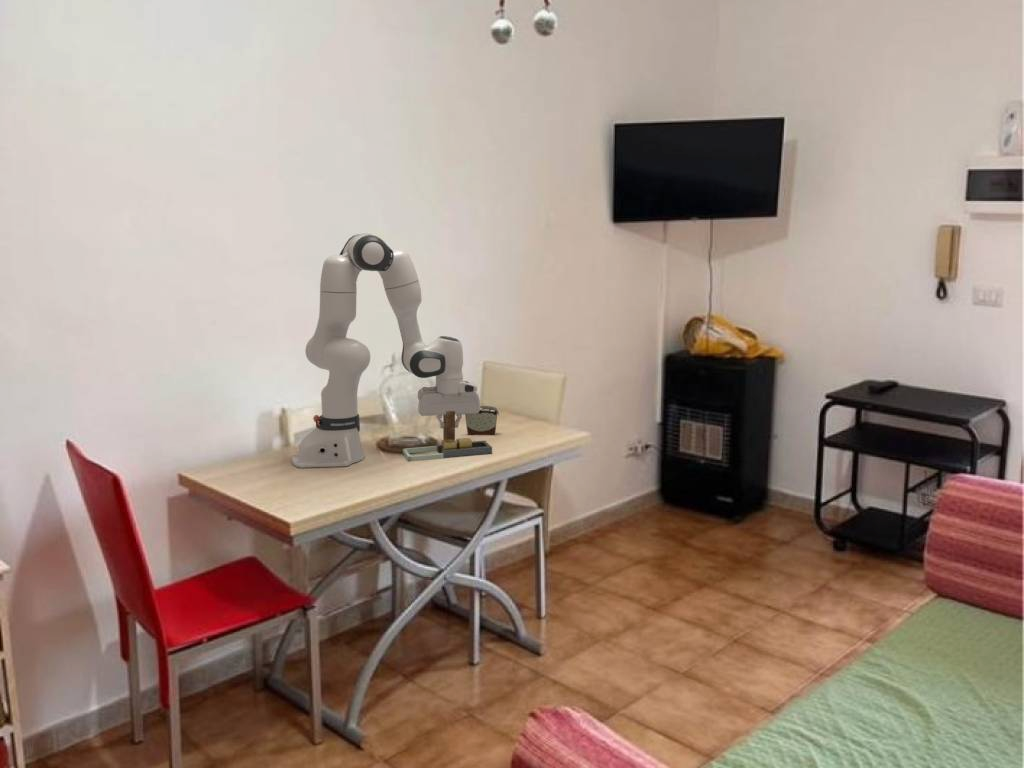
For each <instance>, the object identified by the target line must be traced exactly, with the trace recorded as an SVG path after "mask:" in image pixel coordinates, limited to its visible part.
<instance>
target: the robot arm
mask: <svg viewBox="0 0 1024 768" xmlns="http://www.w3.org/2000/svg"><path fill="white" fill-rule="evenodd" d="M362 271H367V272H368V271H370V272H376V273H378V274H379V275H380V278H381V280H382V284H383V288H384V291H385V295H386V298H387V300H388V303H389V306H390V307H391V309H392V311H393V313H394V315H395V318H396V321H397V325H398V328H399V332H400V336H401V340H402V341H401V342H402V351H401V359H400V360H401V364H402V366H403V368H404V369H405V370H406V371H407V372H409V373H411V374H412V375H414V376H415V377H417V378H421V379H427V378H432V377H435V386H422V388H420V389H419V390H418V391H417V399H418V405H417V406H418V407H417V413H418V414H419V415H420V416H422V417H427V416H428V417H429V416H436V419H437V421H438V422H439V428H440V429H443V428H445V422H443V420H442V418H443V415H446V411H455V417H457V418H455V429H456V428H457V429H458V428H459V423H460V421H461V419H462V417H463V414H464V415H465V414H475V413H478V412H479V411H480V406H481V400H480V396H479V393H477V390H478V386H476V384H474V383H473V382H471V381H467V380H464V374H463V371H462V370H463V365H464V351H463V345H462V342H461V341H460V340H459V339H457V338H454V337H452V336H445V335H442V336H438V338H436V339H435V340H433V341H432V342H430V343H428V344H425V342H424V341H423V339H422V335H421V334H422V333H421V332H420V327H419V326H420V325H419V322H418V318H417V317H418V315H417V313H418V309H419V307H420V305H421V303H422V300H423V299H422V288H421V284H420V281H419V277H418V274H417V271H416V267H415V265H414V262H413V261H412V258H411V256H410V254H409V253H408V252H407V251H406V250H405V249H401V248H391V247H389V245H387V243H386V242H385V241H384V240H383V239H382V238H380V237H379V236H376V235H373V234H370V233H358V234H354V235H352V236H351V237H350V238H348V240H347V242H345V244H344V246H343V247H342V250H341V251H340V253H339V254H335V255H330V256H328V257H326V259H325V260H324V262H323V264H322V269H321V275H320V281H319V282H320V283H319V314H318V315H319V316H318V320H317V324H316V328H315V331H314V333H313V335H312V337H311V338H310V339H309V340H308V341H307V343H306V345H305V356H306V359H307V361H309V363H311V364H312V365H314V366H315V367H317V368H319V369H322V370H326V371H328V372H329V374H328V379H327V384H326V385H325V386H324V387H323V388H322V390H321V393H320V394H321V395H320V396H321V397H320V398H321V415H317V414H316V415H314V416H313V418H312V420H313V421H314V423H315V428H314V429H313V430H312V431H311V432H309V433H308V434H307V435H306V436H305V437H303V438H302V439H301V440H300V444H299V446H298V453H295V454H294V455H293V456H292V458H291V463H292V465H293V466H295V467H296V468H300V469H301V468H302V469H303V468H304V469H305V468H326V467H327V468H331V467H348V466H351V465H352V464H354V463H357V462H360V461H362V460H363V459H365V458H366V457H365V454H364V450H363V447H362V443H361V437H360V431H361V418H360V414H359V411H358V389H359V388H358V387H359V383H360V380H361V376H362V375H363V373H364V372H365V371H366V370H367V368H368V367H369V365H370V363H371V362H370V361H371V352H370V349H369V348H368V347H367V346H366V345H365V344H364V343H362V342H361V341H359V340H357V339H353V338H349V337H347V334H348V330H349V327H350V325H351V323H353V321H354V320H355V319H356V316H357V292H358V291H357V281H358V277H359V275H360V273H361V272H362Z"/></svg>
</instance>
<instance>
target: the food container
mask: <svg viewBox="0 0 1024 768" xmlns="http://www.w3.org/2000/svg"><path fill="white" fill-rule="evenodd" d="M462 416H465V425H466V433H467V436H496V430H497V420H498V416H500V413H499V409H498V408H497V407H494V406H491V405H490V406H489V405H480V411H479V412H478V413H475V414H462Z"/></svg>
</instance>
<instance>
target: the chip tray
mask: <svg viewBox="0 0 1024 768" xmlns="http://www.w3.org/2000/svg"><path fill="white" fill-rule="evenodd" d="M428 452H438V451H437V445H432V446H431V445H430V446H420V447H407V448H405V447H404V448H402V454H403V456H404V457H405V458H406V459H407V461H408V462H417V461H418V462H419V461H430V460H439V459H441V460H442V459H445V458H444V457H443V453H440V454H439V453H430V454H421V455H418V454H417V453H428ZM411 454H417V455H411Z"/></svg>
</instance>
